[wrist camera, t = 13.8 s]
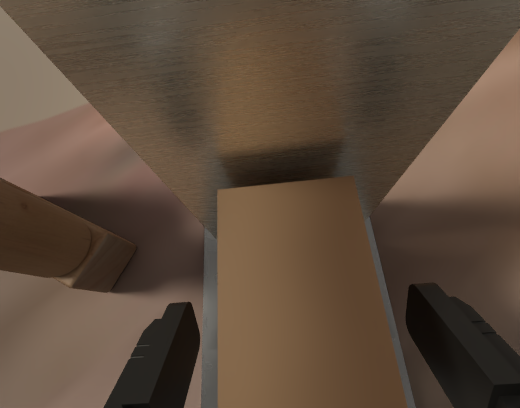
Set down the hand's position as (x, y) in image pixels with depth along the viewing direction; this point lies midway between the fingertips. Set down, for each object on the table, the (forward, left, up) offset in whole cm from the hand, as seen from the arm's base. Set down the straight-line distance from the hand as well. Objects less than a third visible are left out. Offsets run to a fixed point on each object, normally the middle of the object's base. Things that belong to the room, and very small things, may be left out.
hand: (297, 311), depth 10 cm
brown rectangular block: (0, 0, -6) cm, 6 cm away
